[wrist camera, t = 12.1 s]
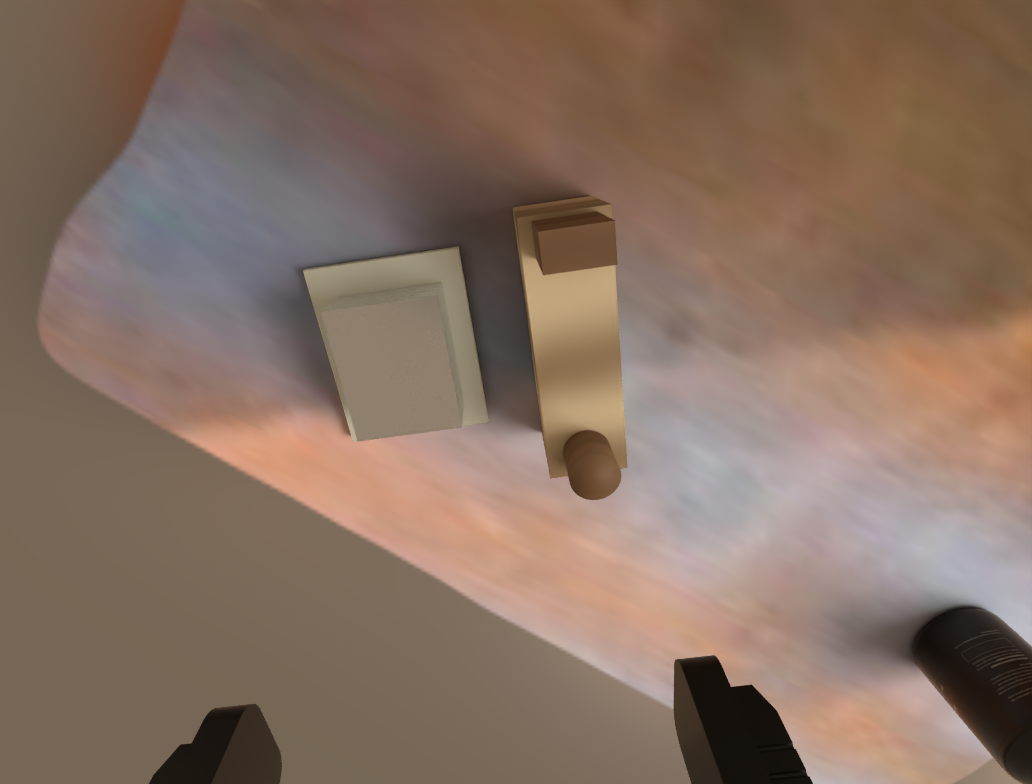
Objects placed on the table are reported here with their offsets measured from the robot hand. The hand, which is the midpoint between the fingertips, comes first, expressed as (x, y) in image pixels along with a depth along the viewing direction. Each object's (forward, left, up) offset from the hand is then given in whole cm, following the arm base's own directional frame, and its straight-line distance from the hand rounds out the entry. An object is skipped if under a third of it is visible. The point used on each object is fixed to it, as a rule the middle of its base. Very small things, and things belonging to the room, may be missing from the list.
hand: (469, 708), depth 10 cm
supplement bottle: (+28, +32, -22) cm, 48 cm away
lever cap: (0, -4, -21) cm, 21 cm away
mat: (-1, -4, -22) cm, 22 cm away
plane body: (-1, +5, -22) cm, 22 cm away
